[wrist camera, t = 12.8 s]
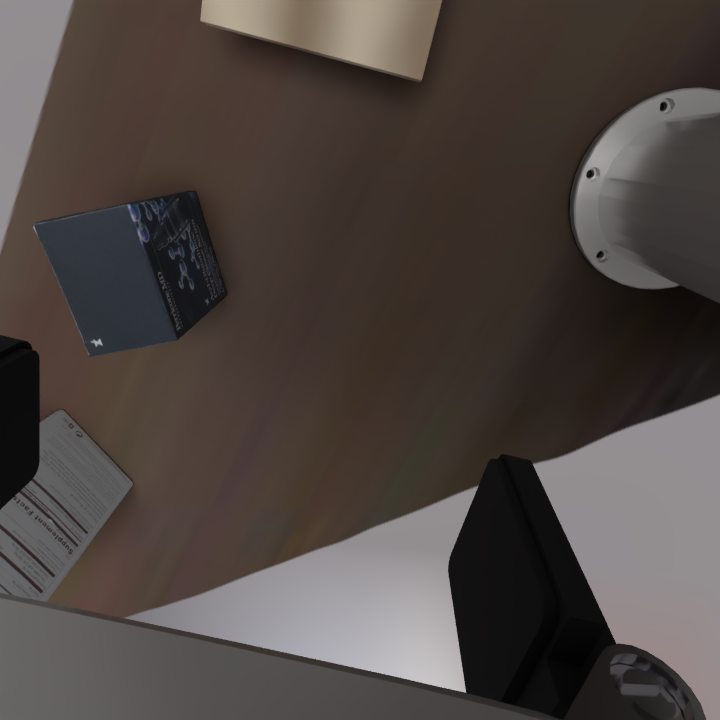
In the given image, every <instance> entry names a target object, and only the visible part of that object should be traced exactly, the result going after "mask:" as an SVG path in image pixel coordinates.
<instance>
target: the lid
mask: <svg viewBox="0 0 720 720" xmlns="http://www.w3.org/2000/svg"><path fill="white" fill-rule="evenodd" d="M441 3H442V0H202V9H201V19H200V21H201V22H203V23H204V24H206V25H208V26H212V27H215V28H219V29H223V30H226V31H230V32H234V33H238V34H241V35H245V36H249V37H253V38H256V39H260V40H264V41H267V42H271V43H275V44H279V45H282V46H286V47H290V48H293V49H297V50H301V51H305V52H308V53H312V54H316V55H319V56H323V57H327V58H331V59H334V60H338V61H342V62H345V63H349V64H353V65H357V66H360V67H364V68H368V69H371V70H375V71H379V72H383V73H386V74H390V75H394V76H397V77H401V78H405V79H409V80H412V81H416V82H420V83H421V81H422V78H423V74H424V70H425V66H426V62H427V58H428V54H429V50H430V46H431V42H432V38H433V34H434V30H435V26H436V22H437V19H438V15H439V11H440V7H441Z"/></svg>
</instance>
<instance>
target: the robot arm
mask: <svg viewBox="0 0 720 720" xmlns="http://www.w3.org/2000/svg"><path fill="white" fill-rule="evenodd" d="M661 103H663V105H664V107H663V110H662V111H660V104H661ZM588 170H591V172H592V175H591V176H590V177H589V178H587V177H586V174H587V172H588ZM569 213H570V220H571V228H572V232H573V235H574V237H575V240H576V243H577V246H578V247H579V249H580V250H581V252H582V254H583V255H584V257H585V258H586V260H587V261H588V262H589V263H590V264H591V265H592V266H593V267H594V268H595V269H596V270H598V271H599V272H601V273H602V274H604V275H605V276H607V277H608V278H610V279H612V280H614V281H616V282H618V283H621V284H623V285H627V286H631V287H634V288H638V289H655V290H656V289H664V288H672V287H676V286H680V285H681V286H683V287H685V288H687V289H690V290H692V291H694V292H696V293H698V294H700V295H703V296H705V297H707V298H709V299H711V300H713V301H715V302H718V303H720V90H714V89H708V88H702V87H701V88H683V89H677V90H672V91H667V92H663V93H660V94H657V95H654V96H652V97H649V98H646V99H644V100H642V101H640V102H638V103H637V104H635V105H633V106H631V107H630V108H628V109H626V110H625V111H623V112H622V113H621V114H620V115H618V116H617V117H616V118H615V119H614V120H612V121H611V122H610V123H609V124H608V125H607V126H606V127H605V128H604V129H603V130H602V131H601V133H600V134H599V135H598V136H597V137H596V138H595V139H594V141H593V142H592V144H591V145H590V147H589V149H588V150H587V152H586V153H585V155H584V156H583V158H582V161H581V163H580V165H579V168H578V170H577V172H576V174H575V178H574V182H573V186H572V190H571V194H570V211H569ZM599 251H601V255H600V256H599V257H596V255H597V253H598V252H599ZM39 463H40V397H39V355H38V353H37V352H36V351H34V350H32V347H31V344H30V343H28V342H27V341H23V340H19V339H14V338H10V337H6V336H2V335H0V510H1V509H2V508H3V507H4V506H5V505H6V504H7V503H8V502H9V501H10V500H11V499H12V498H13V497H14V496H15V495H17V494H18V493H19V492H20V491H21V490H22V489H23V488H24V487H25V486H26V485H27V484H28V483H29V482H30V481H31V480H32V479H33V478H34V476H35V475H36V473H37V471H38V468H39ZM448 573H449V579H450V587H451V594H452V600H453V607H454V614H455V620H456V627H457V634H458V640H459V647H460V654H461V661H462V667H463V674H464V681H465V687H466V693H464V692H459V691H455V690H450V689H446V688H442V687H437V686H433V685H428V684H424V683H419V682H415V681H411V680H407V679H402V678H398V677H394V676H389V675H385V674H380V673H376V672H371V671H366V670H362V669H357V668H353V667H348V666H344V665H338V664H334V663H330V662H325V661H321V660H316V659H311V658H307V657H302V656H298V655H293V654H288V653H284V652H279V651H275V650H270V649H265V648H261V647H256V646H252V645H247V644H242V643H237V642H232V641H228V640H223V639H219V638H214V637H209V636H205V635H200V634H195V633H191V632H185V631H181V630H176V629H172V628H167V627H162V626H157V625H153V624H148V623H144V622H139V621H134V620H129V619H124V618H120V617H115V616H110V615H105V614H101V613H96V612H91V611H86V610H82V609H77V608H72V607H67V606H63V605H58V604H53V603H48V602H44V601H39V600H34V599H29V598H24V597H19V596H14V595H9V594H5V593H0V720H706V717H705V715H704V712H703V709H702V706H701V704H700V702H699V701H698V699H697V698H696V696H695V694H694V693H693V691H692V690H691V688H690V687H689V686H688V685H687V684H686V683H685V682H684V680H683V679H682V678H681V677H680V676H679V675H678V674H677V673H676V672H675V671H674V670H673V669H671V668H670V667H669V666H667V664H665V663H664V662H663V661H662V660H660V659H658V658H656V657H655V656H653V655H652V654H650V653H648V652H647V651H644V650H642V649H639V648H637V647H634V646H632V645H625V644H616V642H615V640H614V638H613V636H612V634H611V632H610V629H609V628H608V625H607V623H606V621H605V618H604V616H603V614H602V612H601V610H600V608H599V606H598V603H597V601H596V599H595V597H594V595H593V593H592V591H591V588H590V586H589V584H588V582H587V580H586V578H585V576H584V573H583V571H582V570H581V567H580V565H579V563H578V561H577V558H576V556H575V554H574V552H573V550H572V548H571V546H570V543H569V541H568V539H567V537H566V535H565V533H564V531H563V529H562V526H561V524H560V522H559V520H558V518H557V516H556V513H555V511H554V509H553V507H552V505H551V503H550V501H549V498H548V496H547V494H546V492H545V490H544V488H543V486H542V483H541V481H540V479H539V477H538V475H537V473H536V471H535V468H534V466H533V464H532V463H531V461H530V460H527V459H522V458H518V457H514V456H510V455H505V454H502V455H500V457H499V458H498V460H497V459H491V460H490V461H489V462H488V464H487V467H486V469H485V471H484V474H483V476H482V479H481V481H480V484H479V486H478V489H477V491H476V494H475V496H474V499H473V501H472V504H471V506H470V508H469V511H468V514H467V516H466V518H465V521H464V523H463V526H462V528H461V531H460V533H459V536H458V538H457V541H456V543H455V546H454V549H453V551H452V553H451V556H450V560H449V566H448Z"/></svg>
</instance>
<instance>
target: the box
mask: <svg viewBox="0 0 720 720" xmlns="http://www.w3.org/2000/svg"><path fill="white" fill-rule="evenodd" d="M33 228H34V230H35V232H36V234H37V236H38V237H39V240H40V242H41V244H42V246H43V248H44V250H45V253H46V255H47V257H48V259H49V261H50V264H51V266H52V268H53V271H54V273H55V275H56V277H57V280H58V282H59V284H60V287H61V289H62V291H63V294H64V296H65V298H66V301H67V303H68V305H69V308H70V310H71V313H72V315H73V317H74V319H75V322H76V325H77V327H78V329H79V332H80V334H81V336H82V339H83V342H84V344H85V347H86V350H87V352H88V354H89V356H90V357H96V356H100V355H105V354H110V353H116V352H121V351H126V350H132V349H137V348H142V347H148V346H153V345H158V344H163V343H168V342H174V341H177V340H178V339H179V338H180V337H181V336H183V335H184V334H185V333H186V332H187V331H188V330H189V329H191V328H192V326H194V325H195V324H196V323H197V322H198V321H199V320H200V319H201V318H202V317H203V316H205V315H206V314H207V313H208V312H209V311H210V310H211V309H213V308H214V307H215V306H216V305H217V304H218V303H219V302H220V301H221V300H222V299H223V298H225V297H226V295H227V293H226V290H225V287H224V284H223V281H222V277H221V274H220V271H219V267H218V264H217V261H216V258H215V255H214V252H213V248H212V245H211V241H210V238H209V234H208V232H207V228H206V225H205V222H204V219H203V214H202V211H201V208H200V205H199V201H198V198H197V194H196V192H195V191H187V192H182V193H177V194H172V195H167V196H162V197H157V198H152V199H147V200H141V201H136V202H131V203H126V204H120V205H116V206H111V207H106V208H101V209H97V210H92V211H87V212H82V213H77V214H73V215H68V216H63V217H59V218H54V219H49V220H44V221H40V222H37V223H35V224H34V227H33Z"/></svg>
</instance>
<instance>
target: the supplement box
mask: <svg viewBox="0 0 720 720" xmlns="http://www.w3.org/2000/svg"><path fill="white" fill-rule="evenodd" d="M132 486H133V482H132V481H131V480H130V479H129V478H128V477H127V476H126V475H125V474H124V473H123V472H122V471H121V469H120V468H119V467H118V466H117V465H116V464H115V463H114V462H113V461H112V460H111V459H110V458H109V457H108V456H107V455H106V454H105V453H104V452H103V451H102V450H101V449H100V447H99V446H98V445H97V444H96V443H95V442H94V441H93V440H92V439H91V438H90V437H89V436H88V435H87V434H86V433H85V432H84V431H83V430H82V429H81V428H80V427H79V426H78V424H77V423H76V422H75V421H74V420H73V419H72V418H71V417H70V416H69V415H68V414H67V413H66V412H65V411H64V410H62V409H61V410H58V411H57V412H55V413H53V414H52V415H50V416H49V417H47V418H46V419H44V420H43V421H41V422H40V463H39V468H38V471H37V473H36V475H35V476H34V478H33V479H32V480H31V481H30V482H29V483H28V484H27V485H26V486H25V487H24V488H23V489H22V490H21V491H20V492H19V493H18V494H17V495H15V496H14V497H13V498H12V499H11V500H10V501H9V502H8V503H7V504H6V505H5V506H4V507H3V508H2V509H1V510H0V593H5V594H9V595H14V596H19V597H24V598H29V599H34V600H39V601H44V602H47V600H48V599H49V598H50V596H51V595H52V594H53V592H54V591H55V590H56V588H57V587H58V586H59V584H60V583H61V581H62V580H63V579H64V577H65V576H66V575H67V573H68V572H69V571H70V569H71V568H72V567H73V565H74V564H75V563H76V561H77V560H78V559H79V557H80V556H81V555H82V553H83V552H84V550H85V549H86V548H87V546H88V545H89V544H90V542H91V541H92V540H93V538H94V537H95V536H96V534H97V533H98V532H99V530H100V529H101V528H102V526H103V525H104V524H105V522H106V521H107V520H108V518H109V517H110V515H111V514H112V513H113V511H114V510H115V509H116V507H117V506H118V505H119V503H120V502H121V501H122V499H123V498H124V497H125V495H126V494H127V493H128V491H129V490H130V488H131V487H132Z"/></svg>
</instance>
